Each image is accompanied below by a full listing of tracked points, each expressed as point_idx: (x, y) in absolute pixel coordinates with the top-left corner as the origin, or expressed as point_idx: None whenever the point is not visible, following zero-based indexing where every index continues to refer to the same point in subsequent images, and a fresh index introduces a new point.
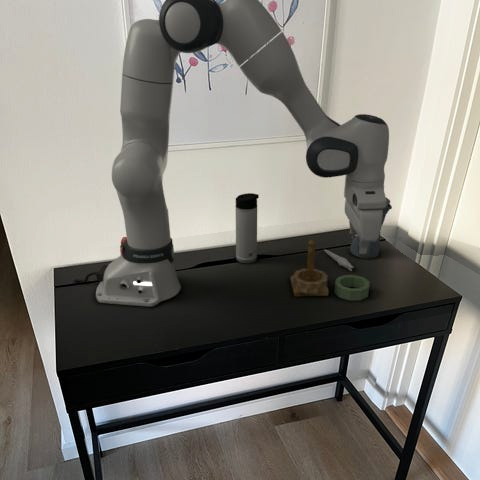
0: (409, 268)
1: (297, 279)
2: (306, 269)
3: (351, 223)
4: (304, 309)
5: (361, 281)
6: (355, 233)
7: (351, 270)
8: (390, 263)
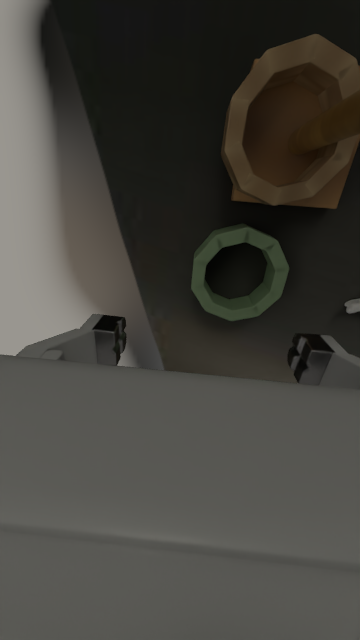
0: None
1: (278, 52)
2: None
3: (267, 385)
4: (161, 92)
5: (248, 304)
6: (299, 365)
7: (347, 305)
8: None
